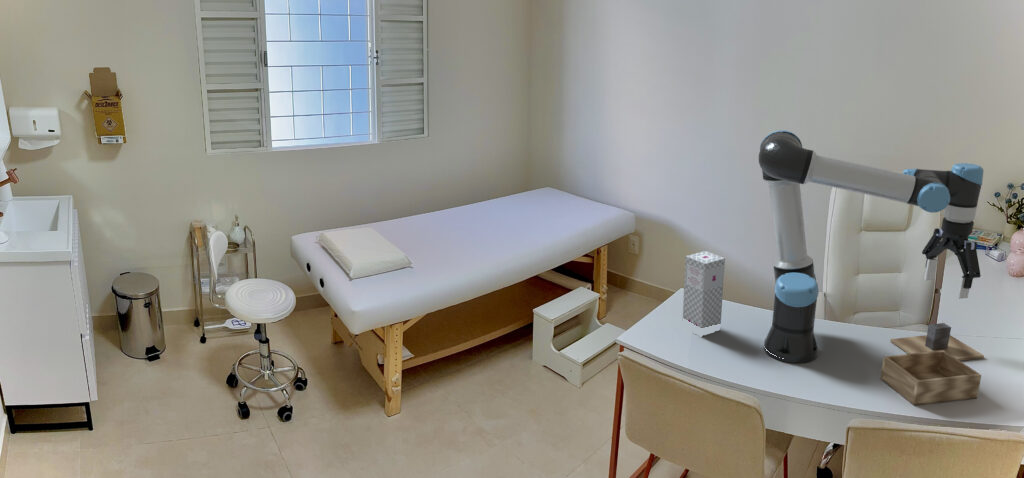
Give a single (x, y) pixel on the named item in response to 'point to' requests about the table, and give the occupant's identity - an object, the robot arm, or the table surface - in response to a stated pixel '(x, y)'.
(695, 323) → the box
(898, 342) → the lid
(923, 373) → the wooden box
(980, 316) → the table surface
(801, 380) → the table surface
